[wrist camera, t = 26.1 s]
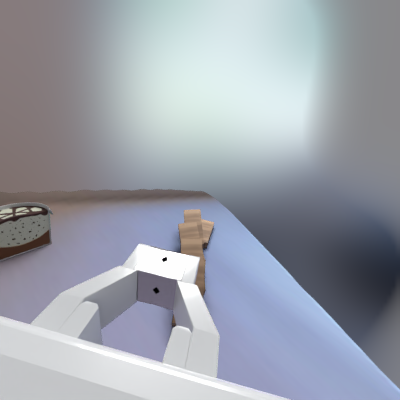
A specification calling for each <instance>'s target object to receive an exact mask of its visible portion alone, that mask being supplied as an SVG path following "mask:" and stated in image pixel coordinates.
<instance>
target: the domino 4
mask: <svg viewBox="0 0 400 400" xmlns="http://www.w3.org/2000/svg"><path fill="white" fill-rule="evenodd" d="M204 276H205V260H202V259H200V261H199V266H198V271H197V276H196V282H195V285H197V287H198V289H199V291H200V293H201V296H202V298H203V292H204ZM172 326H176V322H175V318H174V314H173V320H172Z"/></svg>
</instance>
